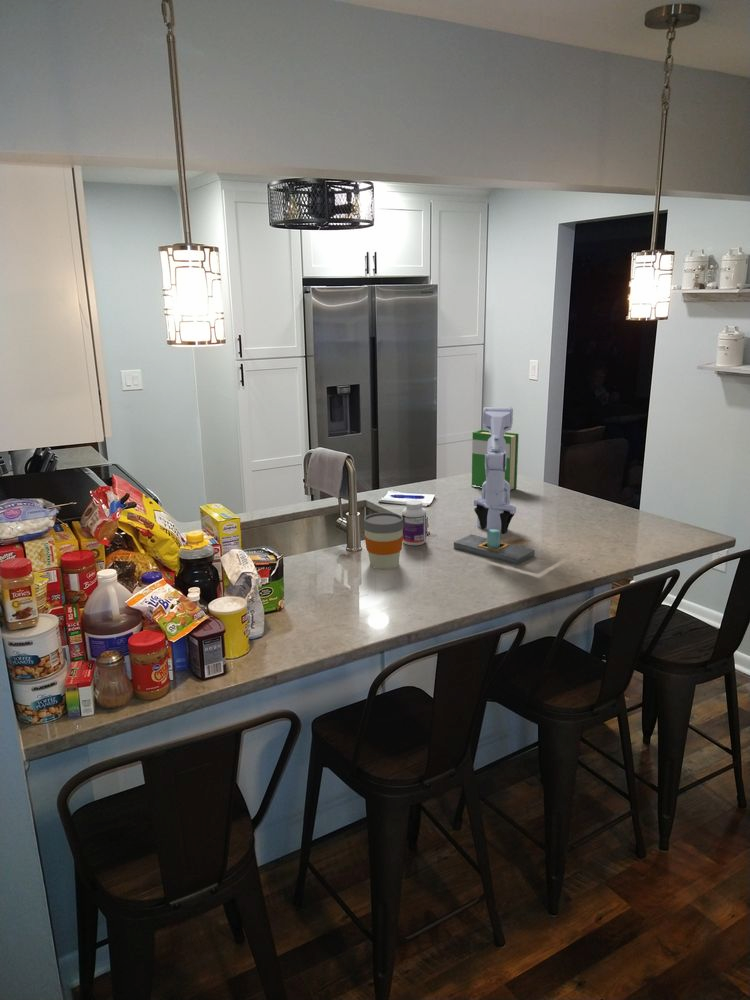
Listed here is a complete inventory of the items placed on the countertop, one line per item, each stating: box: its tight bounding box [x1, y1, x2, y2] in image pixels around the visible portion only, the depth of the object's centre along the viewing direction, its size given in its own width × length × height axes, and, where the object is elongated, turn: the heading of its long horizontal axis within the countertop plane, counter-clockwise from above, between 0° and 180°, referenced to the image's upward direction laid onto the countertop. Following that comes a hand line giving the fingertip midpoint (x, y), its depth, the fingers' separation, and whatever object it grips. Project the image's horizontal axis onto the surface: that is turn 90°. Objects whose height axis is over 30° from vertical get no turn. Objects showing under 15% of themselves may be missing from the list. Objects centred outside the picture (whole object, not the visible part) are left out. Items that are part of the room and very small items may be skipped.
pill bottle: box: [401, 499, 427, 547], centre depth 239 cm, size 8×8×14 cm
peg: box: [486, 529, 501, 549], centre depth 228 cm, size 4×4×8 cm
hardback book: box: [471, 429, 519, 491], centre depth 302 cm, size 18×7×24 cm, turn 52°
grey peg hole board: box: [453, 533, 535, 569], centre depth 228 cm, size 24×10×3 cm, turn 48°
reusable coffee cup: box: [363, 512, 404, 570], centre depth 221 cm, size 13×13×15 cm
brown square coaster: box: [500, 535, 532, 547], centre depth 238 cm, size 8×8×1 cm
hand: (493, 530), depth 227 cm, fingers open, 7 cm apart
